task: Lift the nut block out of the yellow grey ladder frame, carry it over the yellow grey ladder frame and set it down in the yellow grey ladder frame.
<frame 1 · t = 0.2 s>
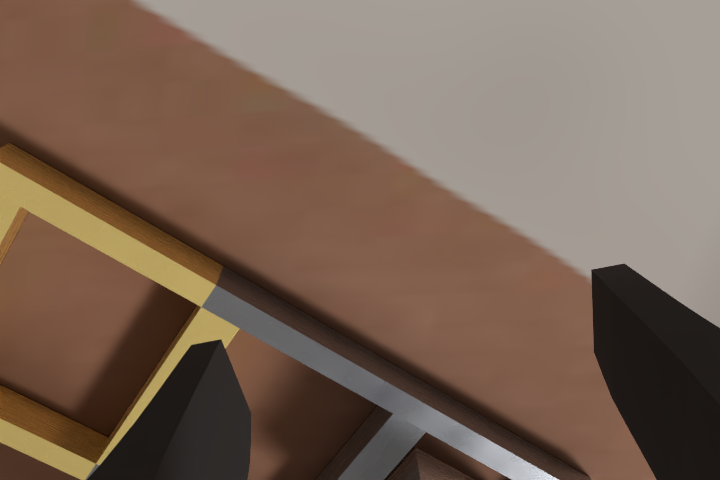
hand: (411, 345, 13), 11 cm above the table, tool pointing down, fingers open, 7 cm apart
yellow grey ladder frame: (264, 422, 27), on the table
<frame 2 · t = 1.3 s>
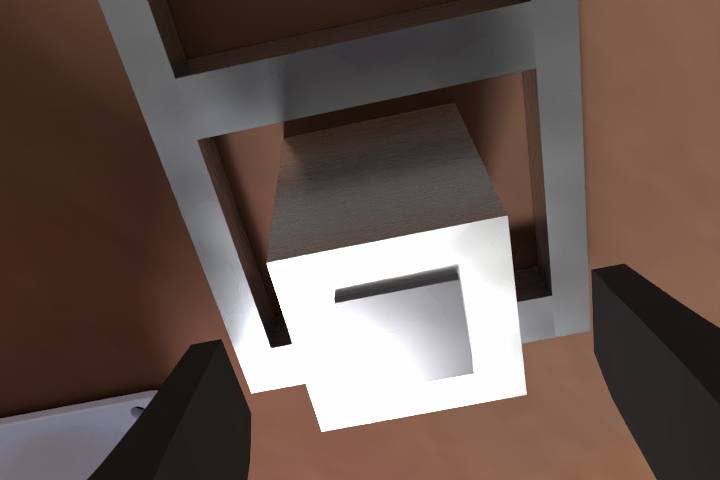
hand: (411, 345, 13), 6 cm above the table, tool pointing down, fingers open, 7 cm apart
nut block: (384, 195, 19), resting in yellow grey ladder frame
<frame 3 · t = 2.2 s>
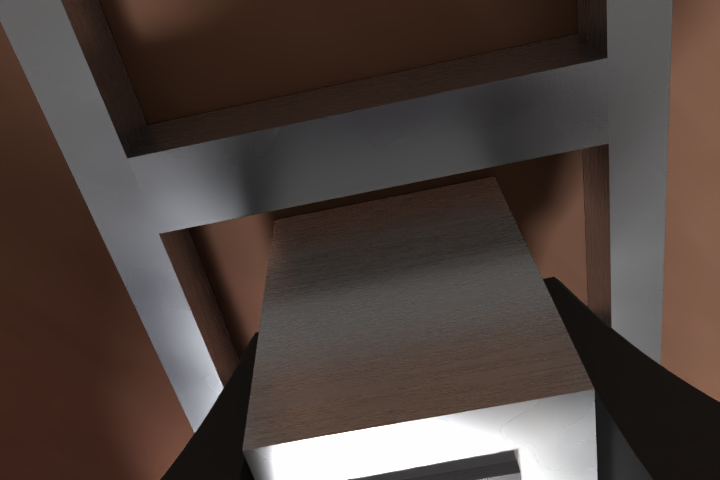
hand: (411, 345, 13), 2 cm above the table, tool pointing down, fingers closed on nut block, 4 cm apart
nut block: (402, 287, 15), resting in yellow grey ladder frame, touching gripper
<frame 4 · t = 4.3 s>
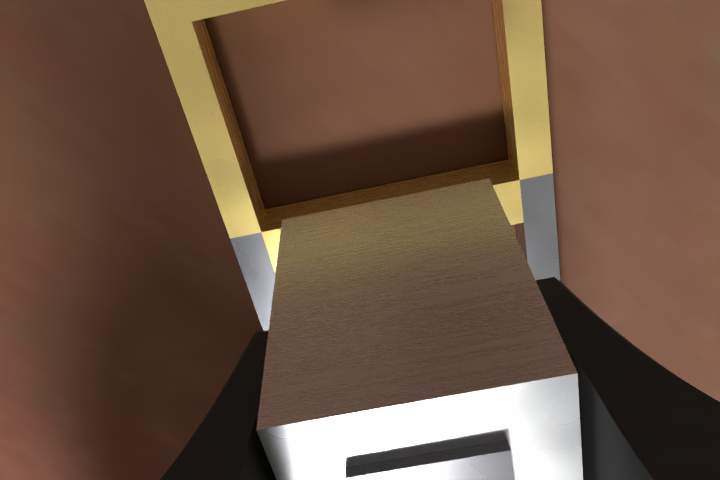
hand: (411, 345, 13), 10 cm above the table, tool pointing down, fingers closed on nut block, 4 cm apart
nut block: (402, 283, 16), point 7 cm above the table, touching gripper
yellow grey ladder frame: (409, 300, 24), on the table
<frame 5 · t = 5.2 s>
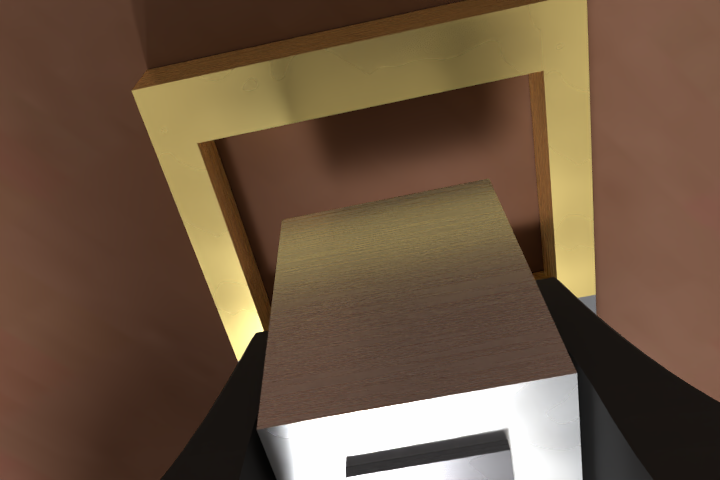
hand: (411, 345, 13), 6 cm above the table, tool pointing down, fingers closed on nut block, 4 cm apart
nut block: (402, 283, 16), point 3 cm above the table, touching gripper
yellow grey ladder frame: (431, 410, 23), on the table
when the fingers open (3 cm above the table, at t = 6.2 s): nut block stays where it is, resting in yellow grey ladder frame.
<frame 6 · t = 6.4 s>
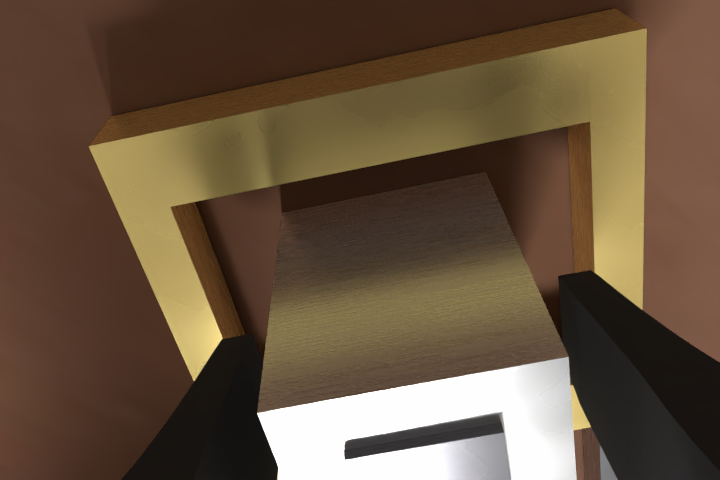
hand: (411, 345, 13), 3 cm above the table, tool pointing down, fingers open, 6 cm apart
nut block: (400, 275, 16), resting in yellow grey ladder frame
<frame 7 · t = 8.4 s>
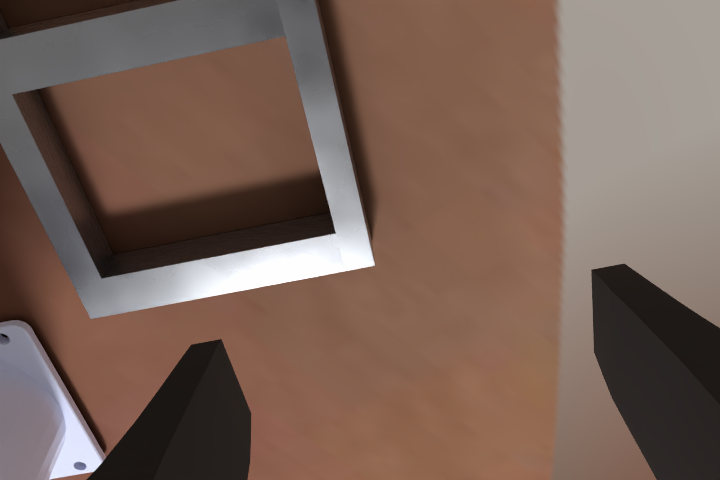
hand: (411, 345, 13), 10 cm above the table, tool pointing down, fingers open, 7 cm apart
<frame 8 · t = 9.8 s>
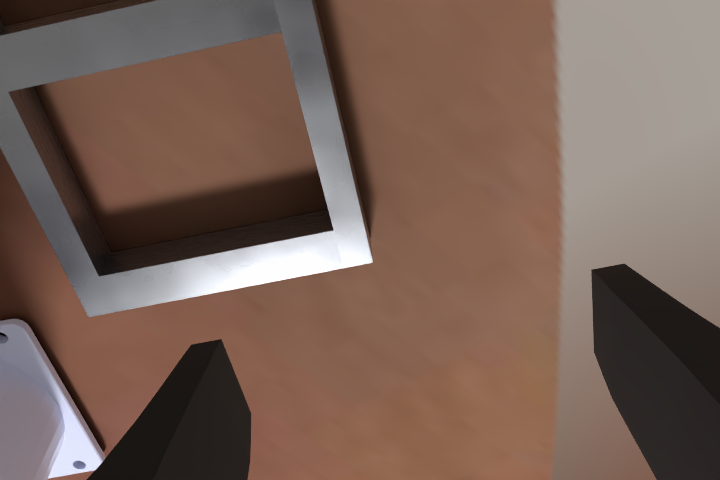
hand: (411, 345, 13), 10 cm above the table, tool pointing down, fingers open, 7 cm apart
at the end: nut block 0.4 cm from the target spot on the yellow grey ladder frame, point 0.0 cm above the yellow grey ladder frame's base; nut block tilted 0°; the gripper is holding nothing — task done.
